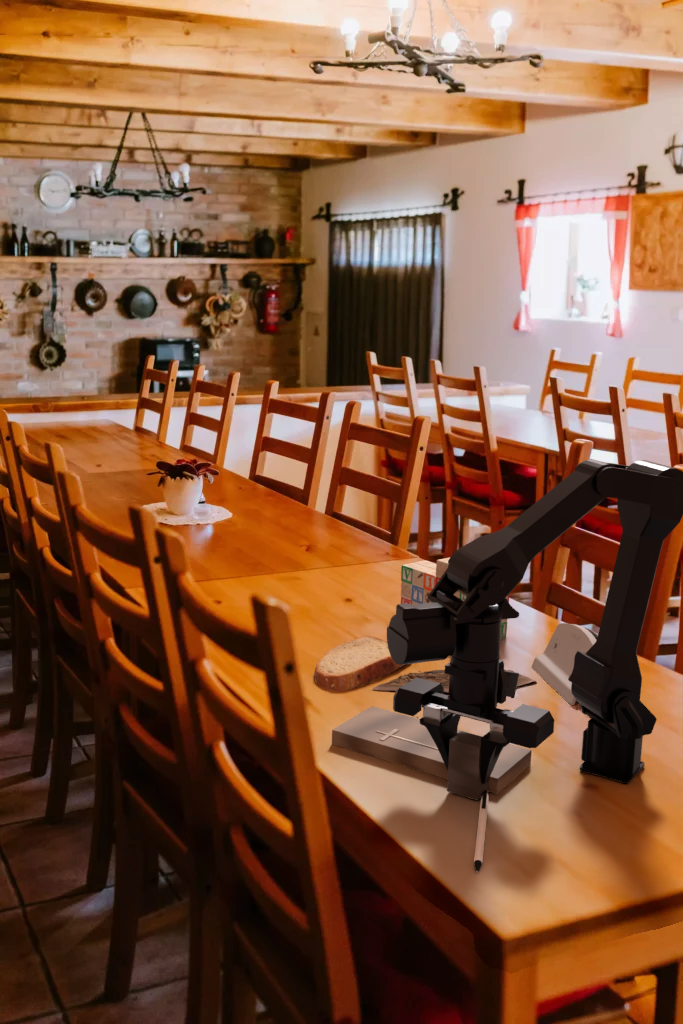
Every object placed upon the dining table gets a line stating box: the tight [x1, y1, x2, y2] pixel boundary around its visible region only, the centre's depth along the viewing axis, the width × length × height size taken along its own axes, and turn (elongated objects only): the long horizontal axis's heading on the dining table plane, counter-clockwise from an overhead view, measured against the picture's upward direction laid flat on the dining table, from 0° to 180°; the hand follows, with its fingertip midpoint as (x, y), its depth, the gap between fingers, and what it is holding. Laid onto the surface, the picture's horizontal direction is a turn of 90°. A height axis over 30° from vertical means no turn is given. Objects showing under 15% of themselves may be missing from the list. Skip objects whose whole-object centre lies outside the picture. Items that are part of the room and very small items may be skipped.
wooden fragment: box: [372, 668, 538, 693], centre depth 165 cm, size 26×11×1 cm, turn 98°
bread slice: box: [313, 635, 404, 692], centre depth 171 cm, size 18×18×4 cm
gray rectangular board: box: [331, 706, 532, 795], centre depth 141 cm, size 24×10×2 cm, turn 57°
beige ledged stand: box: [530, 622, 598, 706], centre depth 166 cm, size 17×5×10 cm, turn 11°
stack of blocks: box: [400, 556, 511, 639], centre depth 193 cm, size 21×6×12 cm, turn 39°
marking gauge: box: [446, 730, 489, 801], centre depth 131 cm, size 4×7×7 cm, turn 147°
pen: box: [473, 790, 490, 874], centre depth 122 cm, size 1×19×1 cm, turn 170°
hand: (468, 777), depth 130 cm, fingers closed on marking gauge, 4 cm apart
